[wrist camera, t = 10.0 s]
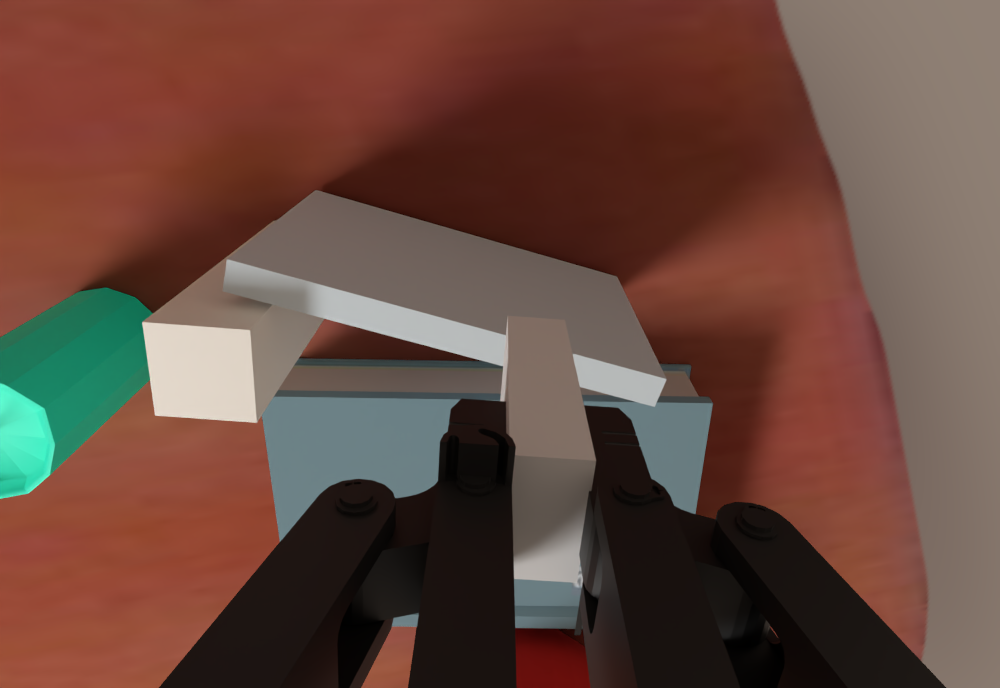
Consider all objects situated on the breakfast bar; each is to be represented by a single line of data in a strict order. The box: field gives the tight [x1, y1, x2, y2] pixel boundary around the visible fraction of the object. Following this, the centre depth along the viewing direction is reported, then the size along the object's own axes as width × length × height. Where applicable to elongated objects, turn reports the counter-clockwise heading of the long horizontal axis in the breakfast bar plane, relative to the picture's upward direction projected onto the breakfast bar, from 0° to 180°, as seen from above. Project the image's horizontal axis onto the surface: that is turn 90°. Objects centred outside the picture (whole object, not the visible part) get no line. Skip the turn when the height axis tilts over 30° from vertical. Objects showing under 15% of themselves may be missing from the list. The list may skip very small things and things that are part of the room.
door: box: [223, 190, 667, 407], centre depth 30 cm, size 16×3×12 cm, turn 74°
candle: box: [0, 288, 153, 499], centre depth 32 cm, size 6×6×12 cm
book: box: [262, 358, 713, 629], centre depth 40 cm, size 23×16×5 cm
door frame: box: [142, 220, 324, 423], centre depth 25 cm, size 25×4×14 cm, turn 175°
